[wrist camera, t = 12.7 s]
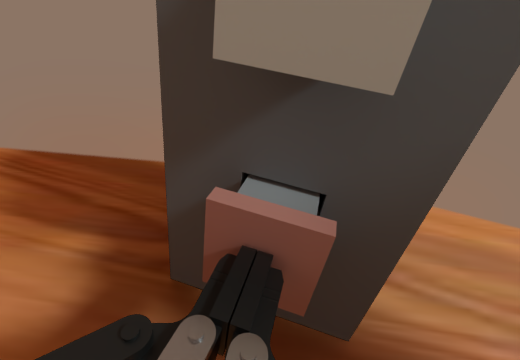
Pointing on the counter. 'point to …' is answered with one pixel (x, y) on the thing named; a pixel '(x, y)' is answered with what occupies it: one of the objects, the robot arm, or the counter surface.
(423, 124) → the grey dispenser box
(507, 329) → the counter surface
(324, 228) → the lower plunger
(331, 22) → the upper plunger
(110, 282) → the counter surface
